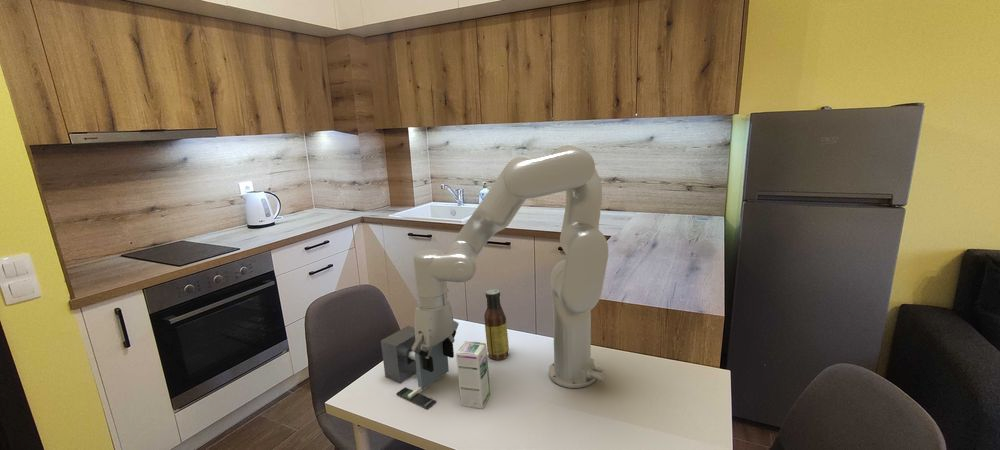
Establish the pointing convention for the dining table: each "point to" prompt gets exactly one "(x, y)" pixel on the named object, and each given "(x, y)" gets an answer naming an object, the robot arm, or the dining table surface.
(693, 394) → the dining table surface
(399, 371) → the frame
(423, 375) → the blue-grey plate with rod
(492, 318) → the sauce bottle
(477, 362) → the syrup box
